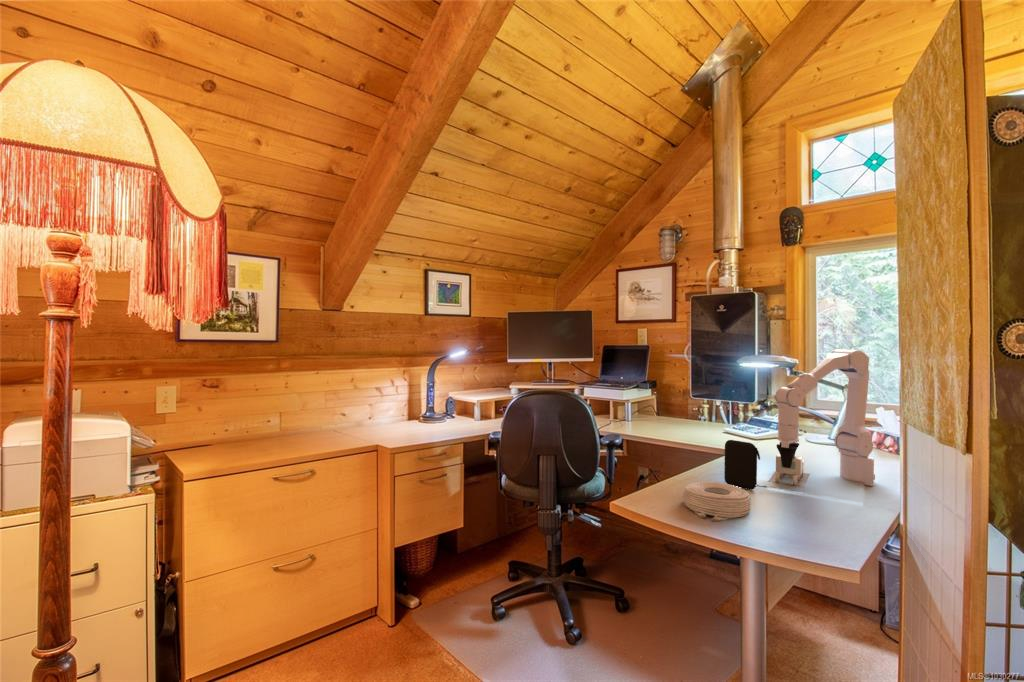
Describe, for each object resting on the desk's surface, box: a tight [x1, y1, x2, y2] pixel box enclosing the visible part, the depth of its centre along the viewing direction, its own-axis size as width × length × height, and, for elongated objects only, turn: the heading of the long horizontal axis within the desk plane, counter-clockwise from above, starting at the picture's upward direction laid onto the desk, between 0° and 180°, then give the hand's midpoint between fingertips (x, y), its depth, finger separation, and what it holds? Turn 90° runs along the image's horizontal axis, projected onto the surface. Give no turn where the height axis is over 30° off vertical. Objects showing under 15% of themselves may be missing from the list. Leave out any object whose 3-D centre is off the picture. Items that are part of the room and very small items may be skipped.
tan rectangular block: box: [784, 459, 805, 477], centre depth 165 cm, size 7×4×5 cm, turn 53°
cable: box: [681, 481, 751, 522], centre depth 134 cm, size 18×18×6 cm
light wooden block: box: [775, 453, 803, 475], centre depth 157 cm, size 7×4×5 cm, turn 53°
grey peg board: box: [767, 470, 811, 488], centre depth 161 cm, size 10×19×4 cm, turn 143°
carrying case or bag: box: [723, 439, 761, 491], centre depth 152 cm, size 11×3×15 cm, turn 44°
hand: (787, 466), depth 157 cm, fingers closed on light wooden block, 4 cm apart
